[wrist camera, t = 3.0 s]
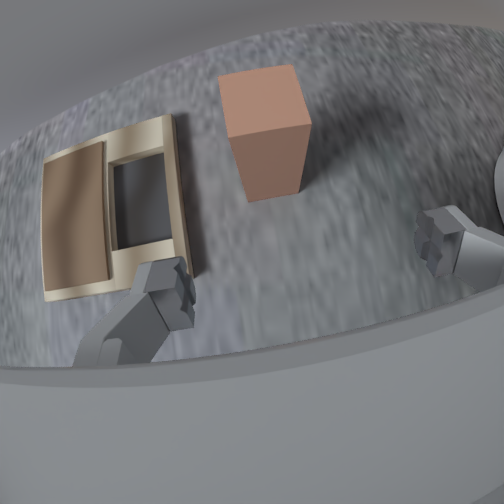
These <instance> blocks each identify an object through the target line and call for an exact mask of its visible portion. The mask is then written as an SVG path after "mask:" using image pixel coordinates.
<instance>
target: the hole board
mask: <svg viewBox="0 0 504 504" xmlns="http://www.w3.org/2000/svg"><path fill="white" fill-rule="evenodd" d="M177 256H182V257H184V259H185V262H186V264H187V271H186V273H188V274H189V275H191V276H192V279H194V273H193V267H192V260H191V253H190V247H189V239H188V232H187V225H186V217H185V209H184V201H183V193H182V184H181V175H180V165H179V156H178V145H177V134H176V123H175V119H174V118H173V116H172V114H171V113H170V114H167V115H163V116H160V117H156V118H153V119H149V120H146V121H143V122H140V123H136V124H133V125H130V126H127V127H124V128H121V129H118V130H115V131H112V132H109V133H107V134H104V135H101V136H98V137H96V138H93V139H90V140H88V141H85V142H82V143H80V144H77V145H75V146H72V147H70V148H68V149H65V150H63V151H60V152H58V153H56V154H53V155H51V156H49V157H47V158H44V162H43V174H42V191H41V257H42V274H43V286H44V296H45V302H57V301H63V300H69V299H76V298H82V297H88V296H94V295H100V294H107V293H113V292H119V291H125V290H131V288H132V284H133V281H134V278H135V275H136V272H137V268H138V266H139V264H141V263H144V262H149V261H155V260H160V259H166V258H172V257H177Z"/></svg>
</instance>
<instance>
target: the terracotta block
mask: <svg viewBox="0 0 504 504" xmlns="http://www.w3.org/2000/svg"><path fill="white" fill-rule="evenodd" d="M218 81H219V87H220V93H221V99H222V104H223V110H224V116H225V122H226V128H227V133H228V139H229V142H230V145H231V148H232V151H233V155H234V158H235V161H236V164H237V168H238V171H239V174H240V177H241V181H242V184H243V187H244V190H245V194H246V197H247V200H248V202H253V201H258V200H263V199H269V198H274V197H280V196H285V195H291V194H297V193H299V188H300V183H301V178H302V173H303V168H304V162H305V157H306V152H307V147H308V142H309V136H310V131H311V125H312V123H311V119H310V116H309V113H308V110H307V107H306V103H305V100H304V97H303V94H302V91H301V88H300V85H299V82H298V79H297V76H296V74H295V71H294V68H293V65H292V64H289V65H281V66H274V67H267V68H260V69H254V70H248V71H243V72H237V73H232V74H227V75H222V76H218Z"/></svg>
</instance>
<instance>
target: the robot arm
mask: <svg viewBox="0 0 504 504" xmlns="http://www.w3.org/2000/svg"><path fill="white" fill-rule="evenodd" d="M494 183H495V194H496V200H497V204H498V208H499V212H500V215H501V218H502V221H503V223H504V148H503V150H502V152H501V154H500V156H499V158H498V160H497V163H496V167H495V176H494ZM416 223H417V224H418V226H419V227H418V229H417V230H416V232H415V235H414V244H415V249H416V251H417V254H418V255H419V257H420V258H422V259H424V260H426V261H427V263H426V266H427V268H428V269H429V271H430V272H431V273H432V275H433V276H434V278H436V277H440V276H444V275H448V274H452V273H454V275H455V276H457V277H458V278H460V279H461V280H463V281H464V282H466V283H467V284H469V285H470V286H472V287H473V288H475V289H476V290H478V291H479V292H480V293H477V294H474V295H471V296H468V297H465V298H462V299H459V300H456V301H453V302H450V303H447V304H444V305H441V306H437V307H434V308H431V309H428V310H424V311H421V312H417V313H414V314H410V315H407V316H403V317H400V318H396V319H392V320H389V321H385V322H381V323H377V324H373V325H370V326H366V327H361V328H357V329H353V330H349V331H345V332H340V333H336V334H332V335H327V336H322V337H318V338H313V339H308V340H303V341H298V342H293V343H288V344H283V345H277V346H272V347H266V348H260V349H254V350H248V351H241V352H235V353H228V354H221V355H214V356H206V357H198V358H190V359H181V360H172V361H162V362H151V360H152V359H153V357H154V356H155V354H156V353H157V351H158V350H159V348H160V347H161V345H162V344H163V342H164V341H165V340H166V338H167V337H168V335H169V334H170V331H176V330H183V329H188V328H194V318H195V312H194V309H193V307H192V306H193V305H194V304H195V303H196V292H195V286H194V282H193V279H192V276H191V275H189V274H188V273H186V271H187V264H186V262H185V259H184V257H182V256H177V257H172V258H166V259H160V260H155V261H149V262H144V263H141V264H139V266H138V268H137V272H136V275H135V278H134V281H133V284H132V288H131V291H130V294H129V296H125V297H124V298H123V299H122V300H121V301H120V302H119V303H118V304H117V305H116V306H115V307H114V308H113V309H112V310H111V311H110V312H109V313H108V314H107V315H106V316H105V317H104V318H103V319H102V320H101V321H100V322H99V323H98V324H97V325H96V326H95V327H94V328H93V329H92V330H91V331H90V332H89V333H88V334H87V335H86V336H85V337H84V338H83V339H82V340H81V341H80V344H79V347H78V350H77V353H76V356H75V359H74V363H73V366H72V367H10V366H0V504H504V236H501V235H499V234H497V233H494V232H492V231H490V230H487V229H485V228H482V227H477V226H476V225H475V224H474V223H473V222H472V221H471V220H470V219H469V218H468V217H467V216H466V215H465V214H464V213H463V212H462V211H461V210H459V209H458V208H457V207H456V206H455V205H448V206H444V207H440V208H435V209H430V210H425V211H420V212H418V215H417V219H416ZM150 362H151V363H150Z"/></svg>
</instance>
